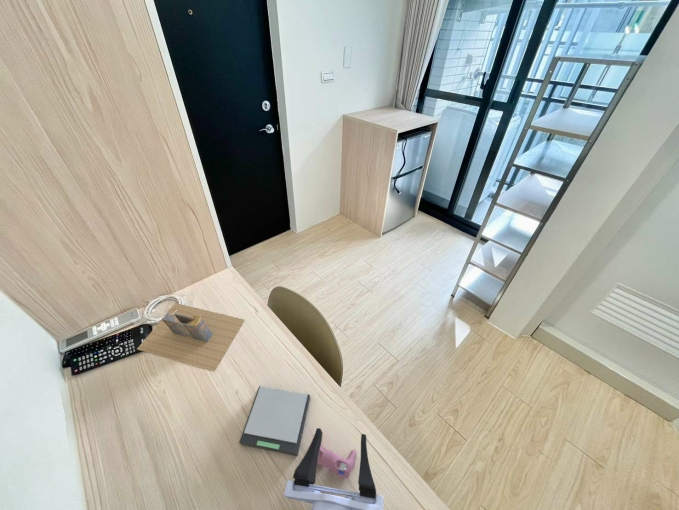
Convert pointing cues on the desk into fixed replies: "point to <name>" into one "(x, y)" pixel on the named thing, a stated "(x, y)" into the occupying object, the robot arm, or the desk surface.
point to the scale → (276, 421)
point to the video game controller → (337, 462)
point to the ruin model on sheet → (192, 336)
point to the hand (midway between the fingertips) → (341, 433)
